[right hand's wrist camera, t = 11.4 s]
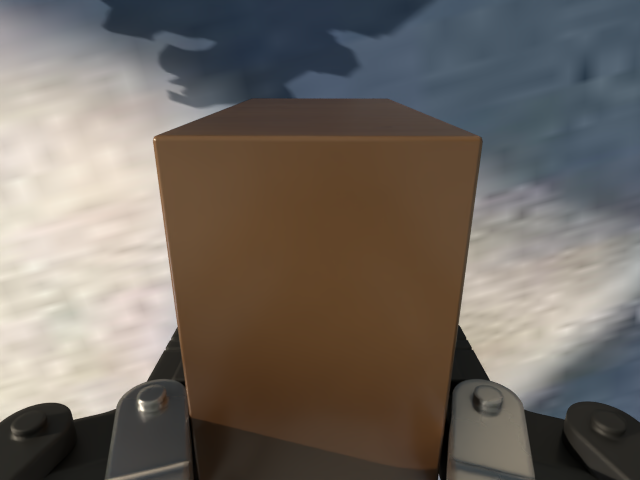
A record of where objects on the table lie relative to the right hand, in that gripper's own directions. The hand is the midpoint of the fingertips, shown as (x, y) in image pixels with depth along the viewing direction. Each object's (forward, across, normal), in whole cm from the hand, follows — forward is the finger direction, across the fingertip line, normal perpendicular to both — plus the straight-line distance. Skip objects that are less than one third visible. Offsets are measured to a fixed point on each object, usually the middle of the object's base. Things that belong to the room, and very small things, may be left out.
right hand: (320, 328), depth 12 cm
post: (+4, 0, -31) cm, 32 cm away
